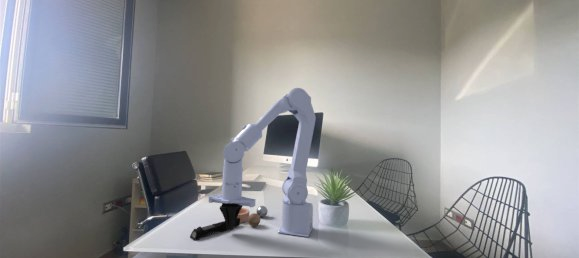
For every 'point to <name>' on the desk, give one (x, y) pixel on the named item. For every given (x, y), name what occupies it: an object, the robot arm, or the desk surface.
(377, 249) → the desk surface
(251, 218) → the wooden ball
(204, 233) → the electric trimmer
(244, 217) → the terracotta bowl
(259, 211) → the steel ball
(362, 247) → the desk surface
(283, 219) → the robot arm
